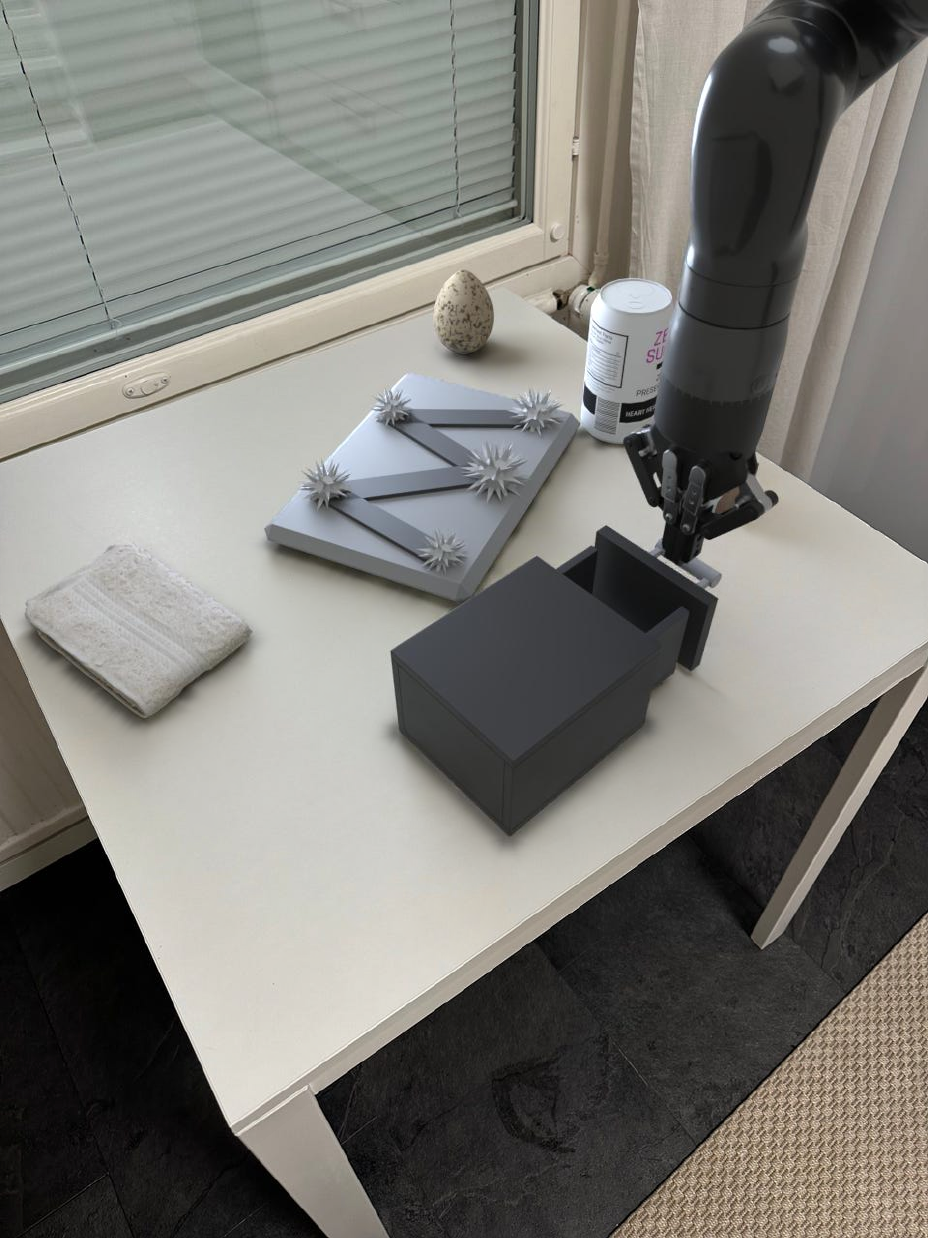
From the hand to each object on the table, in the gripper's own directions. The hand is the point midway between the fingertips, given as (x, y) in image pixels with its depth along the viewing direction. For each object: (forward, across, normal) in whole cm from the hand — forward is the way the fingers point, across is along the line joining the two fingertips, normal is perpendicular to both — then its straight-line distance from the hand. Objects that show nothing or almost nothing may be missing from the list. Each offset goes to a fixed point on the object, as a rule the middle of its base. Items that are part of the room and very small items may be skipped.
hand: (678, 557), depth 72 cm
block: (+8, +7, -17) cm, 20 cm away
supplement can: (+8, +22, -19) cm, 30 cm away
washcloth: (+8, +30, +34) cm, 46 cm away
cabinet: (+8, 0, +17) cm, 19 cm away
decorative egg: (+7, +45, -17) cm, 49 cm away
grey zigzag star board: (+8, +28, +3) cm, 29 cm away
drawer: (+7, 0, +7) cm, 9 cm away
